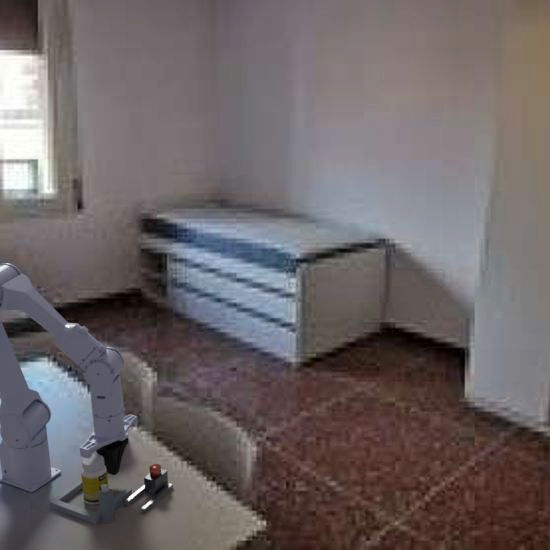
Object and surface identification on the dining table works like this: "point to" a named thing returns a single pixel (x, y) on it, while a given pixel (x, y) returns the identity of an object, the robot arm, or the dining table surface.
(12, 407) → the robot arm
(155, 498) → the track
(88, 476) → the supplement bottle
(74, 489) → the press bed
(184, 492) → the dining table surface
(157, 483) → the grey slider block
